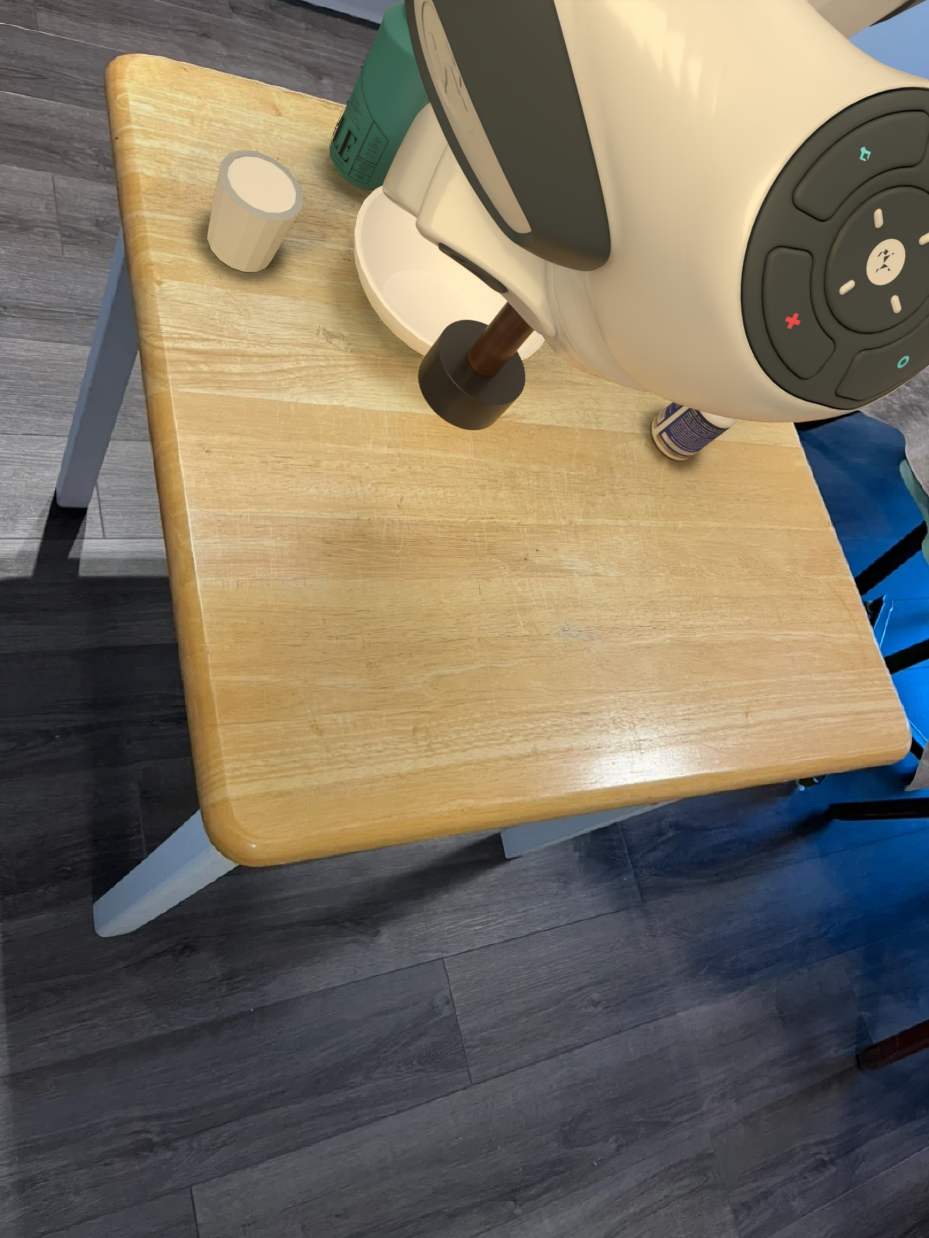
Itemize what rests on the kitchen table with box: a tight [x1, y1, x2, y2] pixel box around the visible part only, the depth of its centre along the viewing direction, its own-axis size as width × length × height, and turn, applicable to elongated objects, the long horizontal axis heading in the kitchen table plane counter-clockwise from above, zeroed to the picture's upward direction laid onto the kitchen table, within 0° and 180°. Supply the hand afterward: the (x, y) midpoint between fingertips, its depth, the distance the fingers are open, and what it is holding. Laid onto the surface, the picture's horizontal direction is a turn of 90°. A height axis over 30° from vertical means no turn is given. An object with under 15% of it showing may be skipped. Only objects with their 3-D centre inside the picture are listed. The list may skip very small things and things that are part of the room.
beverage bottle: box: [328, 0, 429, 190], centre depth 77 cm, size 6×7×20 cm
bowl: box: [353, 186, 546, 362], centre depth 80 cm, size 20×20×7 cm
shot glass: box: [206, 149, 305, 273], centre depth 73 cm, size 7×7×7 cm
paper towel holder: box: [417, 302, 534, 431], centre depth 48 cm, size 6×6×18 cm
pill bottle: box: [651, 402, 739, 461], centre depth 89 cm, size 6×6×10 cm
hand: (551, 273), depth 47 cm, fingers closed on paper towel holder, 2 cm apart
